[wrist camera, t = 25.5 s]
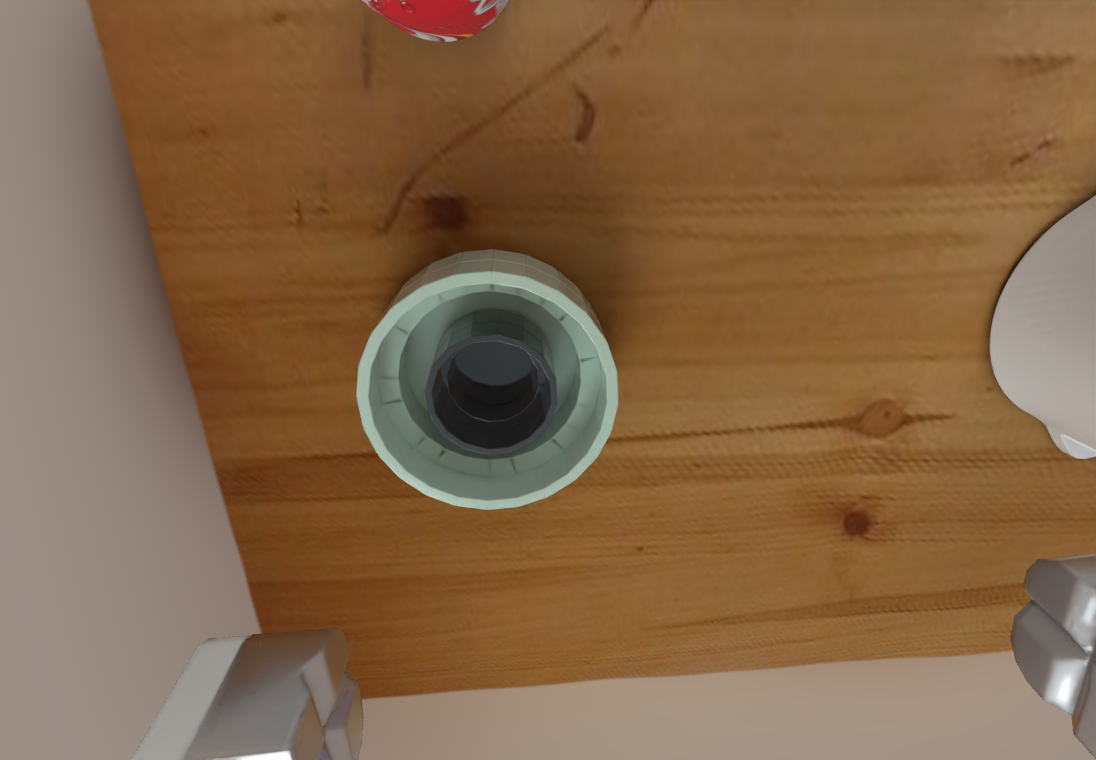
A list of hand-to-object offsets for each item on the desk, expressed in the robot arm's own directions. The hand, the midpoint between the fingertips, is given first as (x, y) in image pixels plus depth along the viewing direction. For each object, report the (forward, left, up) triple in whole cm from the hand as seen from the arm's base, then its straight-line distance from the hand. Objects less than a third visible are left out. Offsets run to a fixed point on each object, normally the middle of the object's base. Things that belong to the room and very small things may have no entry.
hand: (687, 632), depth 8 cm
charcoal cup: (+4, +7, -28) cm, 29 cm away
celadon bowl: (+4, +7, -29) cm, 30 cm away
